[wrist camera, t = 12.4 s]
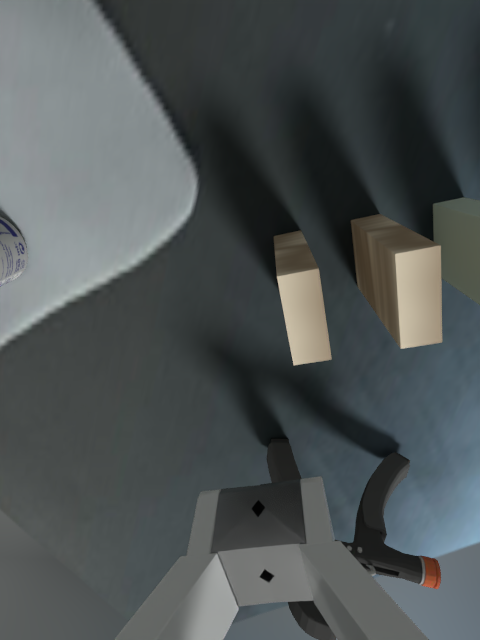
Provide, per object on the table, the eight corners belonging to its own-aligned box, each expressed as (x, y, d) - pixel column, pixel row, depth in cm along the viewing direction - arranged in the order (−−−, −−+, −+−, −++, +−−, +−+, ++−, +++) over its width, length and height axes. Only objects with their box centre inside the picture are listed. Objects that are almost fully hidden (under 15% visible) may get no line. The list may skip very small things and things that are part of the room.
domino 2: (357, 286, 28) (400, 348, 19) (350, 220, 26) (394, 254, 17) (384, 281, 28) (442, 342, 19) (379, 214, 26) (440, 245, 17)
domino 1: (285, 299, 29) (293, 365, 20) (273, 236, 27) (276, 276, 18) (310, 294, 29) (331, 359, 20) (301, 230, 27) (318, 268, 18)
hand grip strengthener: (400, 466, 35) (487, 666, 21) (266, 452, 35) (266, 640, 22) (406, 447, 34) (501, 643, 20) (268, 433, 34) (270, 617, 21)
